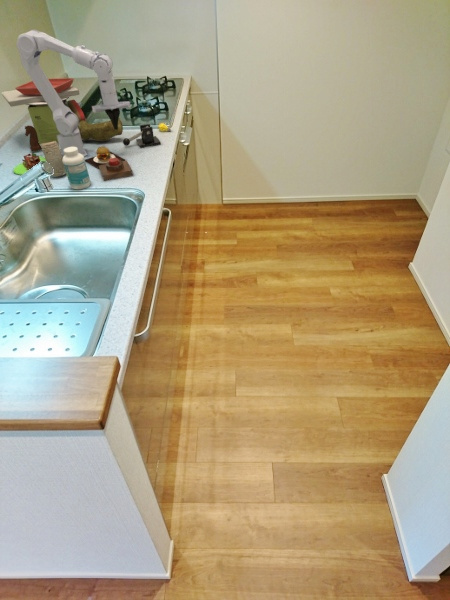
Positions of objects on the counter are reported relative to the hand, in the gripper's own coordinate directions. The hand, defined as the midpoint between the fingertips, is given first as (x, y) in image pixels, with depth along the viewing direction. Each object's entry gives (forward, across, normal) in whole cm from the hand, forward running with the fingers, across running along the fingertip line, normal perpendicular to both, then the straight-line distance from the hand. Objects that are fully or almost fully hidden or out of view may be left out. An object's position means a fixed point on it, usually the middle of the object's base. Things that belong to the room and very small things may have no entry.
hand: (115, 128), depth 161 cm
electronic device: (-7, -25, +34) cm, 43 cm away
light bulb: (+9, +23, +17) cm, 30 cm away
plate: (-5, -24, +32) cm, 40 cm away
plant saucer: (-9, -22, +31) cm, 39 cm away
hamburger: (+10, -7, -4) cm, 14 cm away
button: (+7, -5, -18) cm, 20 cm away
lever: (+8, +9, +7) cm, 14 cm away
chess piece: (+10, -33, +19) cm, 39 cm away
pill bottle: (+10, -19, -23) cm, 32 cm away
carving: (+10, -26, -11) cm, 30 cm away
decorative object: (+4, -11, +27) cm, 29 cm away
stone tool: (+4, -3, +24) cm, 25 cm away
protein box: (+10, -23, +30) cm, 40 cm away
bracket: (+10, +14, +7) cm, 18 cm away
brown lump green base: (+10, -34, 0) cm, 35 cm away
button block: (+10, -5, -18) cm, 22 cm away
